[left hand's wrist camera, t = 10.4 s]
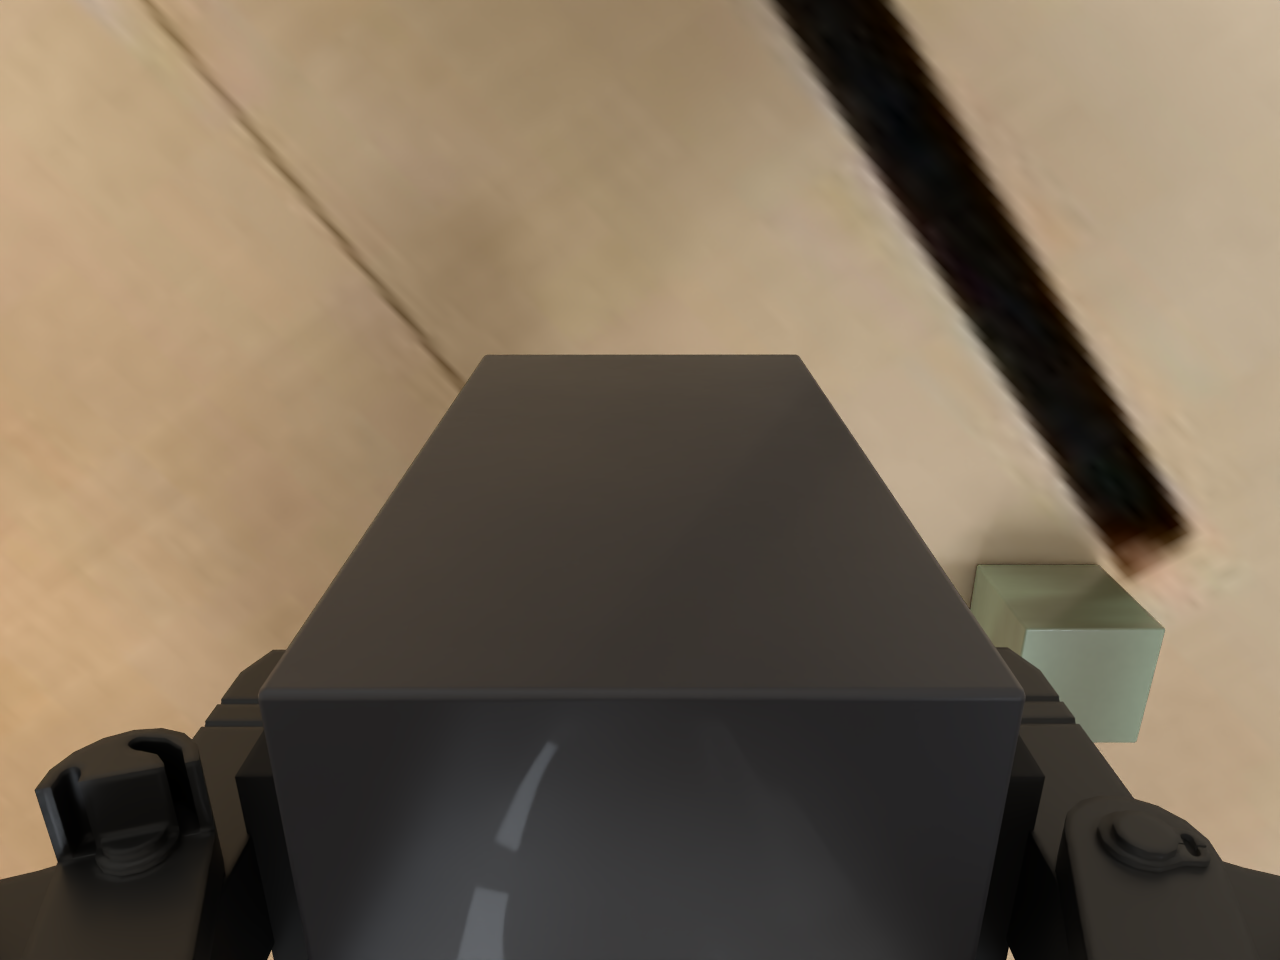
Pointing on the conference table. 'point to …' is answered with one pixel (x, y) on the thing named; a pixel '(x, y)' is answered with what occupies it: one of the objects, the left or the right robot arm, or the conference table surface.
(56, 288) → the conference table surface
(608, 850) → the beam
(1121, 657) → the sage block
